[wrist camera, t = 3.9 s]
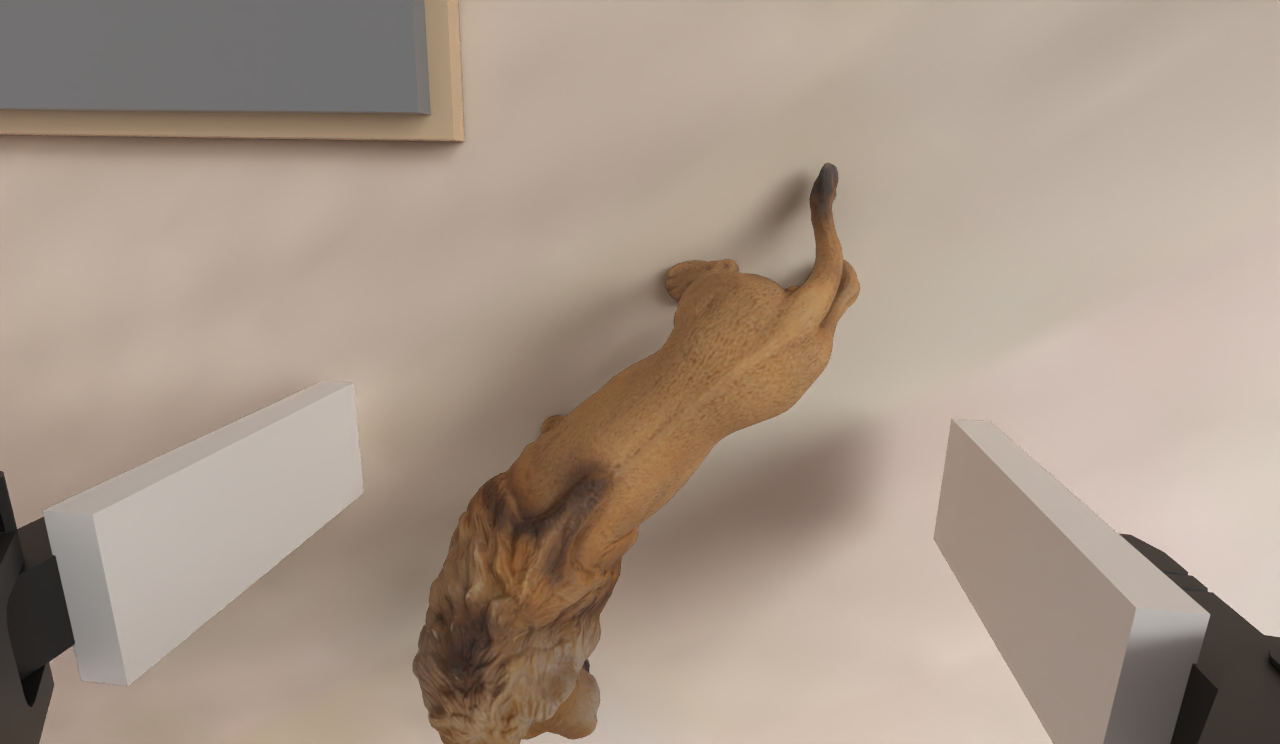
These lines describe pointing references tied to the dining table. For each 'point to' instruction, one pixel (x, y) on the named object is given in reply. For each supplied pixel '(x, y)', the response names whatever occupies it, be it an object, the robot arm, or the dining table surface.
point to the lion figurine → (612, 493)
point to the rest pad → (232, 69)
